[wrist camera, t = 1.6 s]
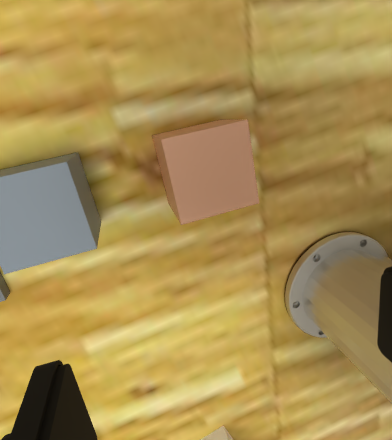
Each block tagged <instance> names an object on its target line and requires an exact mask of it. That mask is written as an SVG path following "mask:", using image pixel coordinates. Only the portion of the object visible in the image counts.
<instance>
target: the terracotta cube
mask: <svg viewBox="0 0 392 440" xmlns="http://www.w3.org/2000/svg"><path fill="white" fill-rule="evenodd" d="M152 138H153V142H154V146H155V150H156V154H157V158H158V162H159V166H160V170H161V174H162V178H163V182H164V186H165V191H166V195H167V199H168V203H169V205H170V207H171V208H172V210H173V212H174V213H175V215H176V217H177V218H178V220H179V222H180V223H181V225H182V224H186V223H189V222H193V221H197V220H200V219H204V218H207V217H211V216H215V215H218V214H222V213H225V212H229V211H233V210H236V209H240V208H243V207H247V206H251V205H254V204H258V203H259V198H258V191H257V184H256V176H255V169H254V162H253V154H252V147H251V140H250V132H249V125H248V120H217V121H213V122H208V123H204V124H199V125H195V126H191V127H186V128H182V129H178V130H173V131H169V132H165V133H160V134H156V135H152Z"/></svg>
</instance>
